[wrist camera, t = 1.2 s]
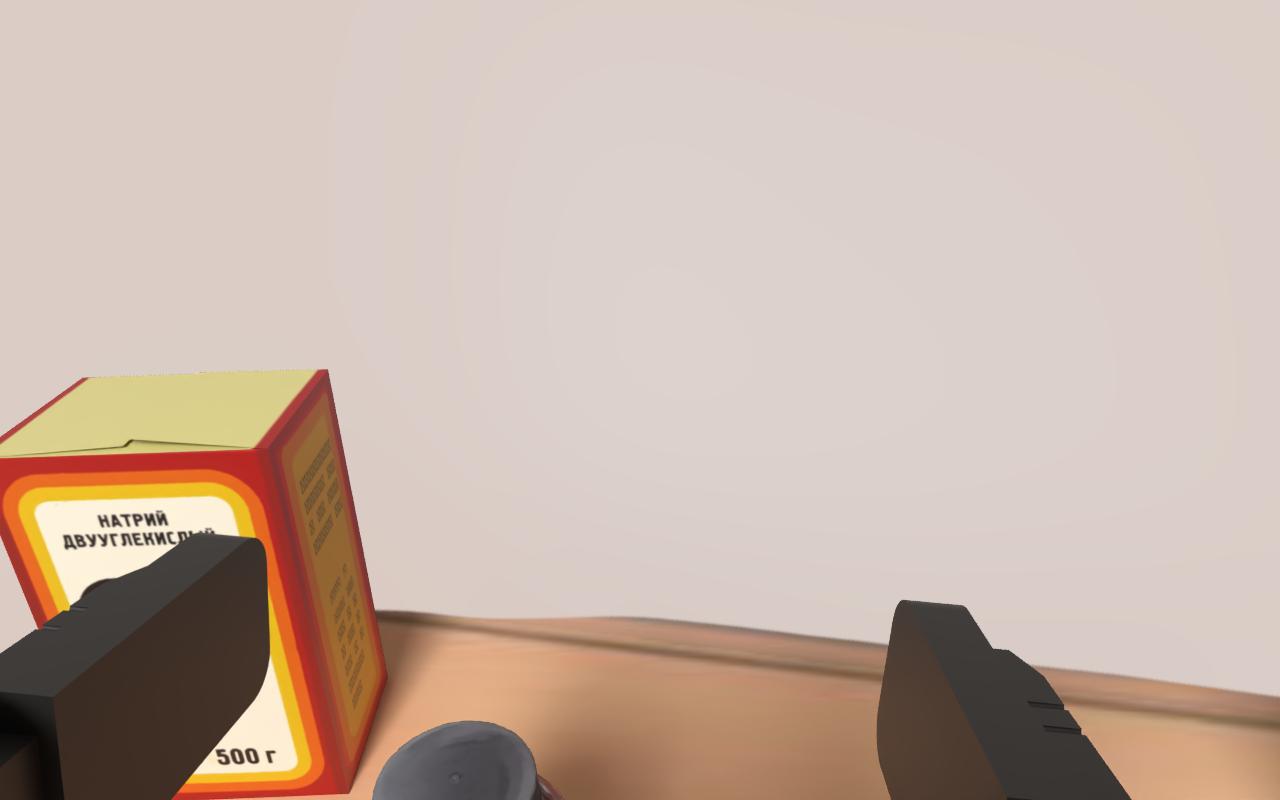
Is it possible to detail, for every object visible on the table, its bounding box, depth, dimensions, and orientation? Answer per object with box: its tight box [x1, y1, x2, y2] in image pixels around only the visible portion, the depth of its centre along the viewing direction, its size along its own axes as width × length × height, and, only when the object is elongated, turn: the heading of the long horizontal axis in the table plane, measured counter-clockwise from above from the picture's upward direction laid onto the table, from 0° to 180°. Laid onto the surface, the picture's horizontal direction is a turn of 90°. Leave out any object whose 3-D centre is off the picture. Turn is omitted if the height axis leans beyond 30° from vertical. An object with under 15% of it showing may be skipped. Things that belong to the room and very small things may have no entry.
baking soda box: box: [0, 369, 388, 800], centre depth 34 cm, size 10×6×16 cm
